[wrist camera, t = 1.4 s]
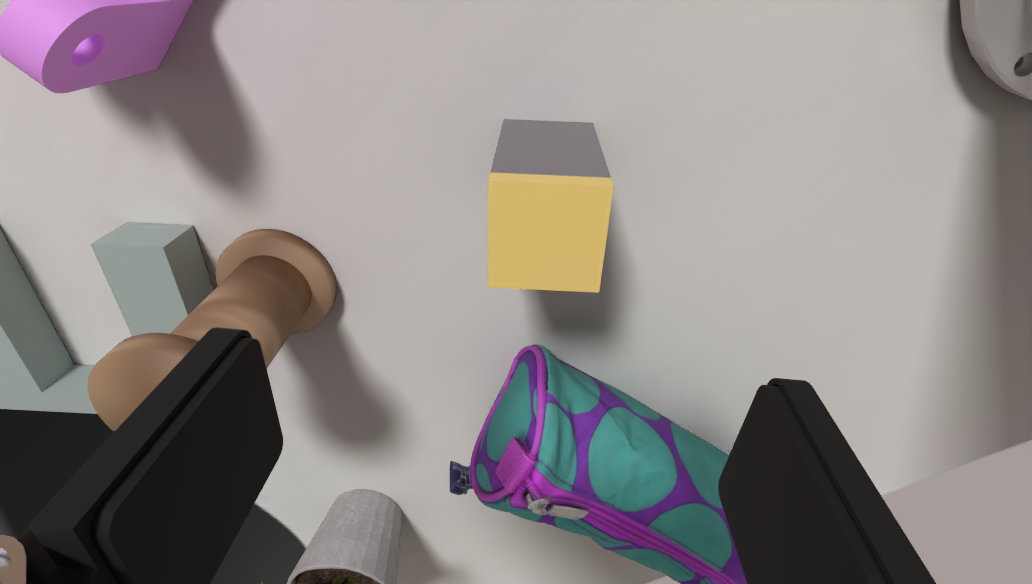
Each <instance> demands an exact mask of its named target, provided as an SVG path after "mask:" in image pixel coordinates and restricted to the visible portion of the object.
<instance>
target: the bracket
mask: <svg viewBox="0 0 1032 584" xmlns="http://www.w3.org/2000/svg"><path fill="white" fill-rule="evenodd" d="M192 1H193V0H12V1H11V2H10V4H9V5H8V6H7V8H6V9H5V11H4V12H3V14H2V16H1V18H0V54H1V56H2V57H3V58H5V59H6V60H7V61H9V62H10V63H12V64H13V65H14V66H16V67H17V68H19V69H20V70H22V71H23V72H24V73H26V74H27V75H29V76H30V77H31V78H33V79H34V80H36V81H37V82H39V83H40V84H41V85H43V86H44V87H46V88H47V89H48V90H50V91H52V92H55V93H67V92H72V91H76V90H80V89H83V88H87V87H91V86H95V85H99V84H103V83H107V82H110V81H114V80H118V79H122V78H126V77H130V76H134V75H137V74H141V73H145V72H149V71H153V70H157V69H158V68H159V66H160V64H161V62H162V60H163V58H164V56H165V54H166V52H167V50H168V48H169V46H170V44H171V42H172V40H173V39H174V37H175V35H176V33H177V31H178V29H179V27H180V25H181V23H182V21H183V19H184V17H185V15H186V13H187V11H188V9H189V7H190V5H191V3H192Z"/></svg>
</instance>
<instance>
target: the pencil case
mask: <svg viewBox="0 0 1032 584" xmlns="http://www.w3.org/2000/svg"><path fill="white" fill-rule="evenodd" d="M728 457H729V455H727V454H725V453H724V452H722V451H721V450H719V449H717V448H716V447H714V446H713V445H711V444H709V443H708V442H706V441H704V440H703V439H701V438H699V437H698V436H696V435H694V434H692V433H691V432H689V431H687V430H685V429H683V428H681V427H680V426H678V425H677V424H675V423H674V422H672V421H670V420H669V419H667V418H665V417H664V416H662V415H660V414H659V413H657V412H655V411H654V410H652V409H650V408H649V407H647V406H646V405H644V404H642V403H641V402H639V401H637V400H636V399H634V398H632V397H631V396H629V395H627V394H625V393H624V392H622V391H620V390H618V389H616V388H614V387H612V386H610V385H608V384H606V383H604V382H602V381H600V380H598V379H596V378H594V377H592V376H590V375H588V374H586V373H584V372H582V371H580V370H578V369H576V368H575V367H573V366H571V365H569V364H567V363H565V362H563V361H561V360H559V359H557V358H556V357H555V356H554V355H553V354H552V353H551V352H550V351H549V350H548V349H546V348H545V347H543V346H541V345H531V346H527V347H524V348H523V349H522V350H520V352H519V353H518V354H517V356H516V357H515V358H514V361H513V363H512V366H511V369H510V372H509V374H508V376H507V379H506V381H505V383H504V385H503V387H502V389H501V391H500V393H499V394H498V396H497V398H496V400H495V402H494V404H493V406H492V408H491V410H490V412H489V414H488V416H487V418H486V420H485V423H484V425H483V427H482V430H481V432H480V434H479V436H478V439H477V441H476V444H475V446H474V450H473V453H472V457H471V464H470V466H469V467H466V466H462V465H460V464H459V463H456V462H453V461H451V462H450V492H451V493H454V494H457V495H460V494H463V493H465V494H466V493H467V490H468V489H474V492H475V494H476V495H477V497H478V499H479V500H480V501H481V502H482V503H483V504H484V505H486V506H488V507H490V508H494V509H497V510H500V511H505V512H510V513H512V514H514V515H517V516H519V517H522V518H525V519H528V520H532V521H536V522H544V523H547V524H550V525H553V526H555V527H558V528H561V529H563V530H566V531H570V532H574V533H578V534H582V535H586V536H590V537H591V538H592V539H593V540H594V541H596V542H597V543H598V544H599V545H601V546H602V547H603V548H605V549H608V550H612V551H614V552H616V553H618V554H620V555H622V556H625V557H627V558H629V559H632V560H634V561H636V562H639V563H641V564H643V565H645V566H648V567H650V568H652V569H655V570H658V571H661V572H663V573H664V574H666V575H668V576H669V577H670V578H672V579H673V580H675V581H678V582H679V583H681V584H747V581H746V578H745V575H744V572H743V569H742V566H741V563H740V559H739V556H738V553H737V550H736V547H735V544H734V541H733V538H732V535H731V532H730V528H729V525H728V522H727V519H726V516H725V513H724V510H723V507H722V504H721V501H720V497H719V491H718V483H719V478H720V475H721V473H722V471H723V469H724V466H725V464H726V462H727V459H728Z"/></svg>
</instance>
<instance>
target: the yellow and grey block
mask: <svg viewBox="0 0 1032 584" xmlns="http://www.w3.org/2000/svg"><path fill="white" fill-rule="evenodd" d="M613 188H614V186H613V183H612V180H611V177H610V174H609V171H608V168H607V165H606V162H605V159H604V156H603V153H602V150H601V147H600V144H599V140H598V137H597V134H596V131H595V128H594V125H593V123H581V122H557V121H533V120H509V119H504V121H503V125H502V129H501V133H500V137H499V141H498V145H497V149H496V153H495V157H494V161H493V165H492V169H491V173H490V177H489V181H488V287H492V288H513V289H534V290H555V291H575V292H596V293H599V290H600V283H601V276H602V268H603V261H604V254H605V246H606V239H607V232H608V224H609V217H610V210H611V202H612V195H613Z"/></svg>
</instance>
